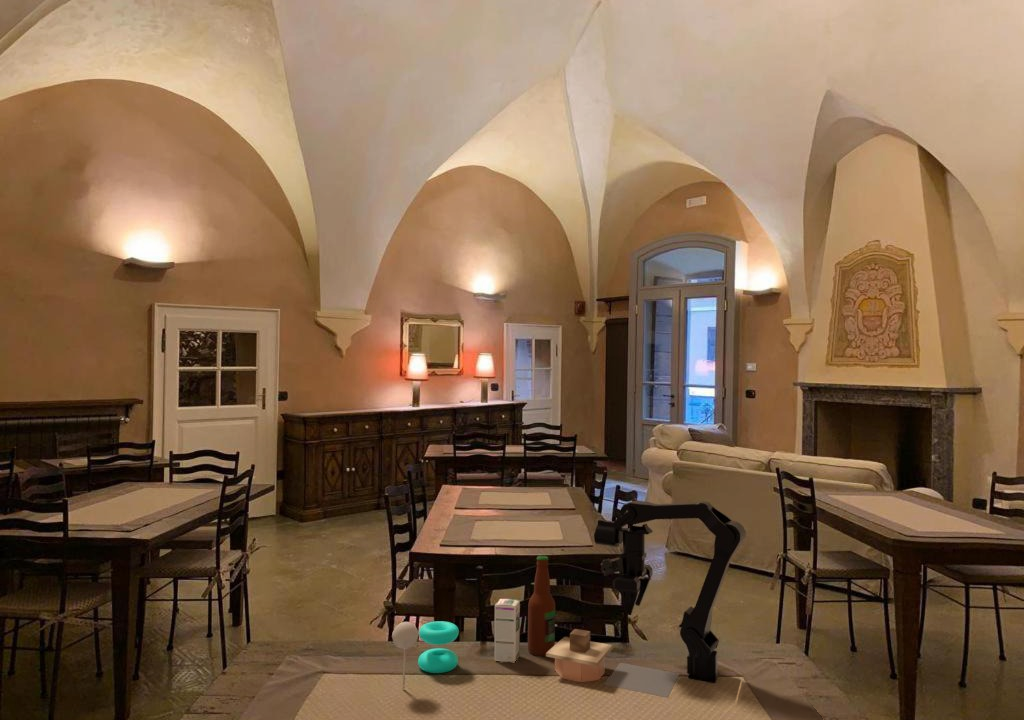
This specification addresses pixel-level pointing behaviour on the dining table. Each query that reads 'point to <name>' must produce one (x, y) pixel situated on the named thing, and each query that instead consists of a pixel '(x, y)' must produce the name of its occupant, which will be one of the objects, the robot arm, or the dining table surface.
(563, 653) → the lid
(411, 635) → the lollipop
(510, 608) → the syrup box
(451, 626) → the donuts
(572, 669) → the bowl
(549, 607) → the bottle
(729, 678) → the dining table surface
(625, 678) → the mat
